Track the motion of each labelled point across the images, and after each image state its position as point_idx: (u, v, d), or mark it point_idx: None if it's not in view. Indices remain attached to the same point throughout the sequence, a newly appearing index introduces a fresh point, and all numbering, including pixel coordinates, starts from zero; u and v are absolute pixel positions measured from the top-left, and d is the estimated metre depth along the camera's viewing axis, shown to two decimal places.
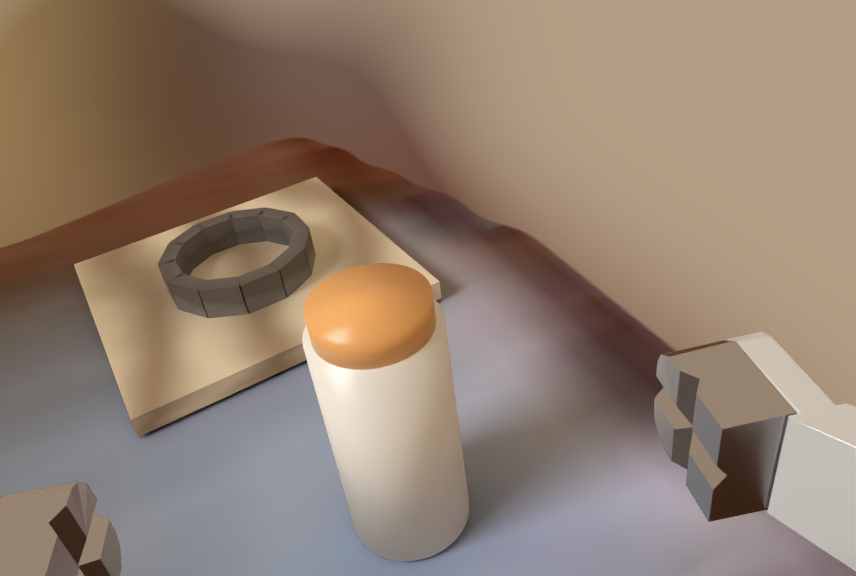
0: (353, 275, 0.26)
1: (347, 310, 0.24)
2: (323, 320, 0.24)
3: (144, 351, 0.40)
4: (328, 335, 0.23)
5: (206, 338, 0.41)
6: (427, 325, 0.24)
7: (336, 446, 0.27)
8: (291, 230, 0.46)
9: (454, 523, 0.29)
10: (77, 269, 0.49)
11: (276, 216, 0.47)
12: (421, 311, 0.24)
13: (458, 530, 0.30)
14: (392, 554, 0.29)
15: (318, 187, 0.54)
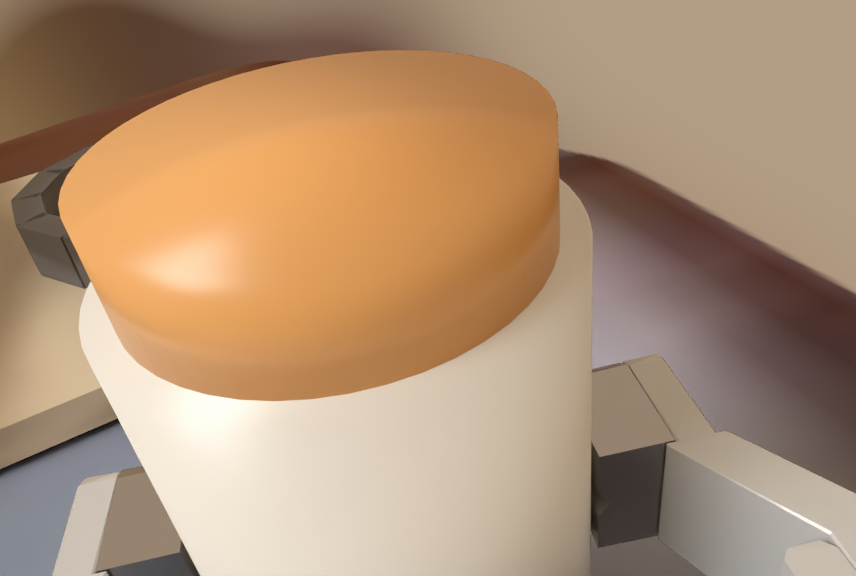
0: (272, 81, 0.08)
1: (228, 166, 0.06)
2: (125, 200, 0.06)
3: None
4: (124, 252, 0.05)
5: (73, 322, 0.23)
6: (544, 221, 0.06)
7: None
8: None
9: None
10: None
11: None
12: (525, 156, 0.06)
13: None
14: None
15: None
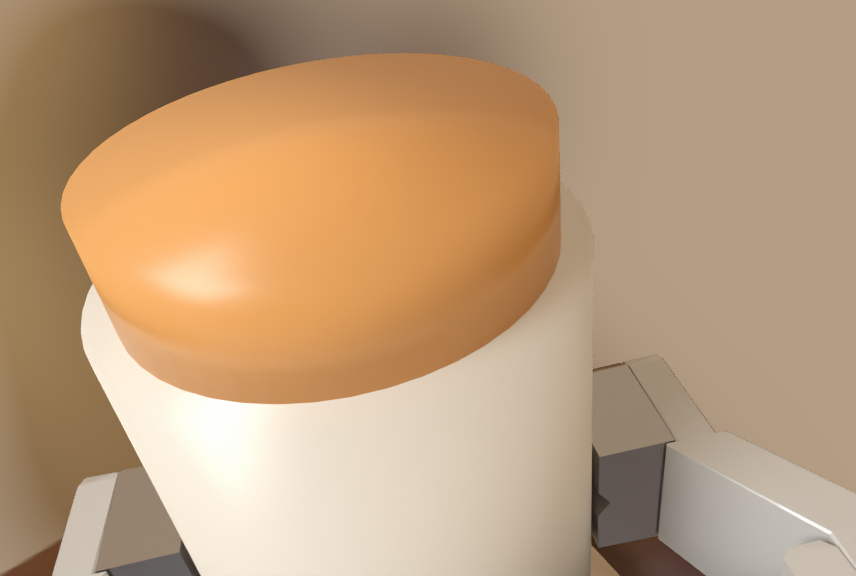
0: (275, 84, 0.08)
1: (230, 169, 0.06)
2: (128, 203, 0.06)
3: None
4: (127, 255, 0.05)
5: None
6: (545, 224, 0.06)
7: None
8: None
9: None
10: None
11: None
12: (526, 160, 0.06)
13: None
14: None
15: None
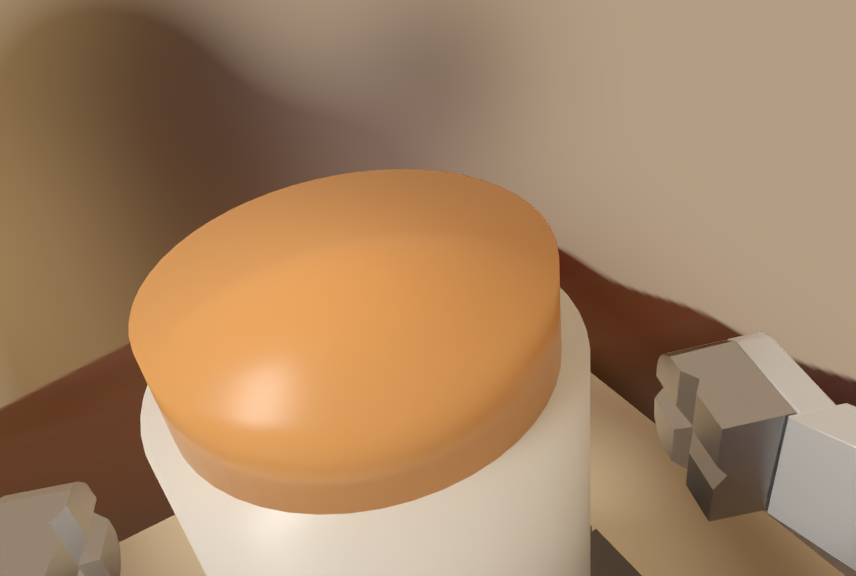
0: (305, 201, 0.09)
1: (274, 301, 0.07)
2: (187, 335, 0.07)
3: None
4: (192, 392, 0.06)
5: None
6: (547, 351, 0.07)
7: None
8: None
9: None
10: None
11: None
12: (531, 302, 0.07)
13: None
14: None
15: None
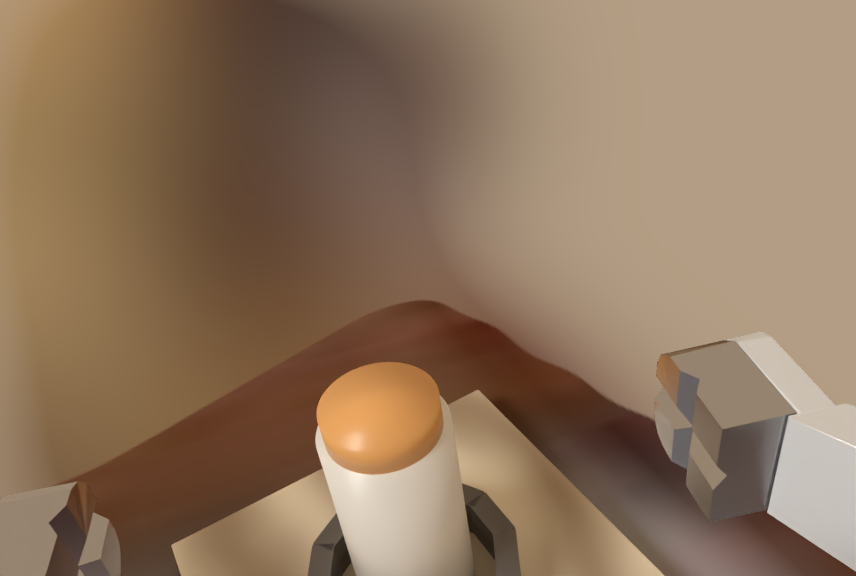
0: (363, 375, 0.27)
1: (358, 415, 0.25)
2: (335, 425, 0.25)
3: None
4: (340, 442, 0.25)
5: None
6: (435, 430, 0.25)
7: (348, 538, 0.28)
8: (489, 530, 0.32)
9: None
10: (177, 557, 0.35)
11: None
12: (429, 418, 0.25)
13: None
14: None
15: (486, 411, 0.41)
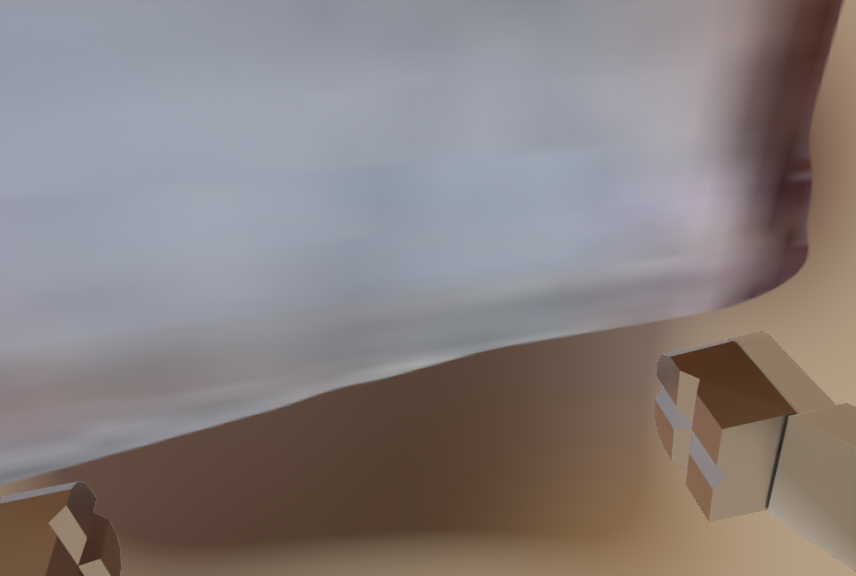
0: None
1: None
2: None
3: None
4: None
5: None
6: None
7: None
8: None
9: None
10: None
11: None
12: None
13: None
14: None
15: None
